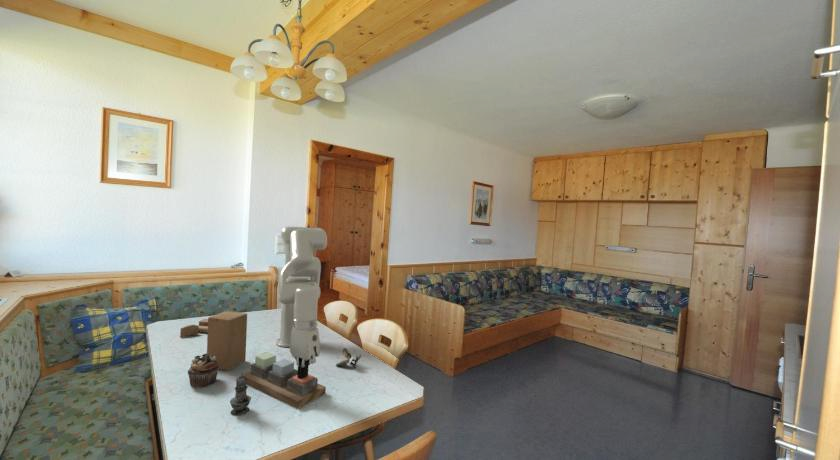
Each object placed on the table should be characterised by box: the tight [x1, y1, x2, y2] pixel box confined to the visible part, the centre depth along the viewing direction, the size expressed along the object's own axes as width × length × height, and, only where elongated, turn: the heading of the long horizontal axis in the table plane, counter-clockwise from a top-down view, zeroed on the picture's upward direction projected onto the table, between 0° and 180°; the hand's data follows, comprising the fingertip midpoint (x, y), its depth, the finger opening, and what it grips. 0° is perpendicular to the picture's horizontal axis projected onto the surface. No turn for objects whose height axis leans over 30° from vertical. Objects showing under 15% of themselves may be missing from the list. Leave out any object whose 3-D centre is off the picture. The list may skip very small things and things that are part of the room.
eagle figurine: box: [335, 347, 362, 369], centre depth 145 cm, size 8×7×9 cm
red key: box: [292, 373, 315, 385], centre depth 118 cm, size 5×5×4 cm
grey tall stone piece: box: [229, 372, 252, 417], centre depth 108 cm, size 6×6×12 cm
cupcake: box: [187, 352, 220, 389], centre depth 124 cm, size 10×10×10 cm
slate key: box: [273, 358, 295, 376], centre depth 123 cm, size 5×5×4 cm
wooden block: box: [206, 310, 248, 372], centre depth 139 cm, size 10×10×20 cm
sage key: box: [254, 351, 277, 369], centre depth 129 cm, size 5×5×4 cm
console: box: [242, 362, 327, 410], centre depth 124 cm, size 12×30×6 cm, turn 59°
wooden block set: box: [179, 318, 208, 338], centre depth 173 cm, size 17×6×18 cm
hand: (302, 376), depth 118 cm, fingers closed
